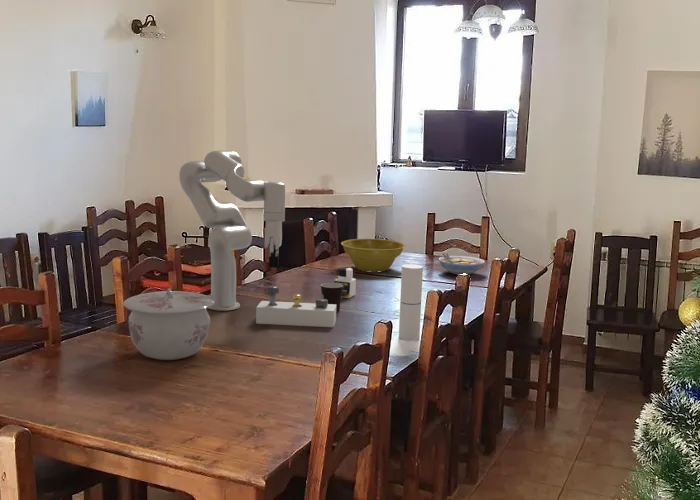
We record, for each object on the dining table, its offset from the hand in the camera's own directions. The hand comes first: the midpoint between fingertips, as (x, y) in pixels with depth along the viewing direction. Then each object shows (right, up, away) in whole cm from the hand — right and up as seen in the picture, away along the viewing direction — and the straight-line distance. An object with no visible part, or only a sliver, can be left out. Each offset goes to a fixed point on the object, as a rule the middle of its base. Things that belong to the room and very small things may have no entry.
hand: (273, 266), depth 275 cm
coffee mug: (+21, -17, +23) cm, 35 cm away
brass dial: (+8, -14, +2) cm, 17 cm away
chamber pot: (-28, -26, -39) cm, 55 cm away
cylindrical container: (+48, -24, -13) cm, 55 cm away
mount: (+8, -20, +3) cm, 22 cm away
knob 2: (+17, -19, +2) cm, 25 cm away
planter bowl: (+39, -4, +106) cm, 113 cm away
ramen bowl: (+82, -6, +102) cm, 131 cm away
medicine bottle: (+25, -13, +47) cm, 55 cm away
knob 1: (-1, -14, +3) cm, 14 cm away
